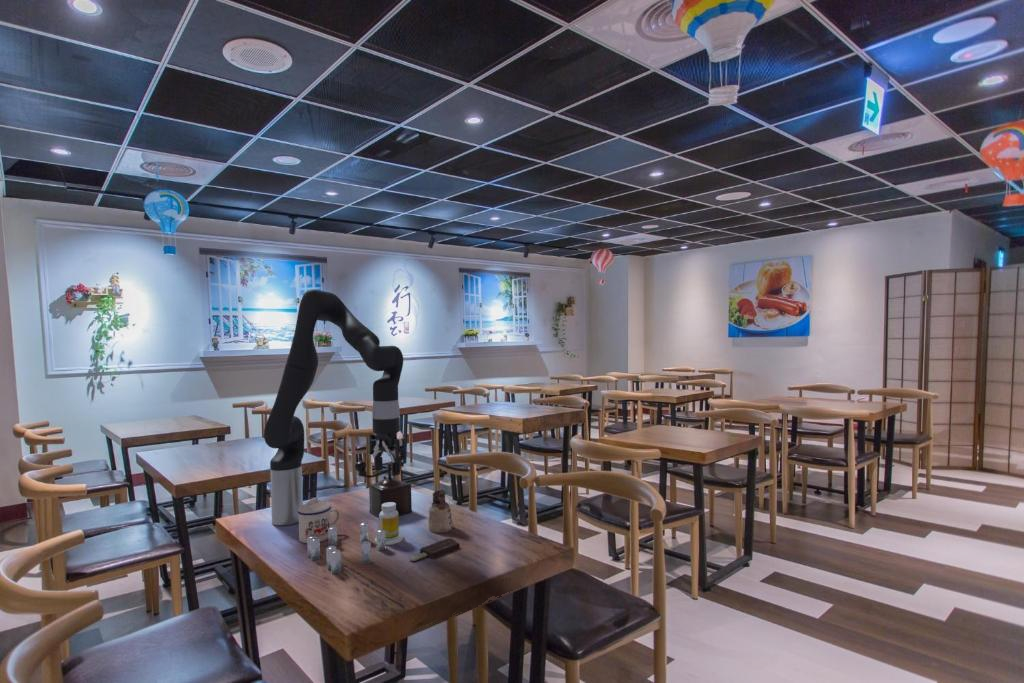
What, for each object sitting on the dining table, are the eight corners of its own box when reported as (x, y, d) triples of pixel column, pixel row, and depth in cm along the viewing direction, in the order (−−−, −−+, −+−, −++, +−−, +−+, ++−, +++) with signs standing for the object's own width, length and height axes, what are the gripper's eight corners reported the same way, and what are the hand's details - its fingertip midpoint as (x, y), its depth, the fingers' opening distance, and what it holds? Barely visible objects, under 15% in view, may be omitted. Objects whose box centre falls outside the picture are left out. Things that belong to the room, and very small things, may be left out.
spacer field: (299, 554, 142) (298, 536, 142) (357, 535, 155) (357, 518, 155) (336, 575, 129) (335, 555, 129) (396, 552, 142) (396, 534, 142)
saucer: (369, 540, 151) (369, 538, 151) (392, 532, 157) (392, 530, 157) (385, 547, 145) (385, 545, 145) (409, 538, 151) (409, 536, 151)
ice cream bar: (416, 566, 134) (462, 548, 145) (416, 559, 134) (461, 542, 145) (404, 560, 138) (450, 543, 149) (404, 554, 138) (449, 537, 149)
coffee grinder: (395, 505, 182) (394, 453, 182) (412, 512, 174) (411, 458, 174) (353, 516, 172) (351, 461, 172) (369, 524, 164) (367, 466, 164)
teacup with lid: (304, 546, 147) (303, 505, 147) (294, 537, 155) (293, 498, 154) (346, 535, 155) (345, 496, 155) (334, 527, 162) (333, 489, 162)
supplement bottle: (375, 538, 151) (375, 504, 151) (391, 532, 155) (390, 500, 155) (387, 542, 147) (386, 508, 147) (402, 537, 151) (402, 503, 151)
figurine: (450, 523, 163) (449, 484, 163) (455, 531, 157) (454, 490, 156) (427, 526, 161) (426, 487, 161) (431, 534, 154) (429, 493, 154)
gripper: (412, 416, 148) (413, 474, 149) (383, 412, 158) (384, 466, 158) (389, 420, 143) (390, 479, 143) (360, 415, 153) (361, 471, 153)
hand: (387, 472), depth 151 cm, fingers open, 8 cm apart
